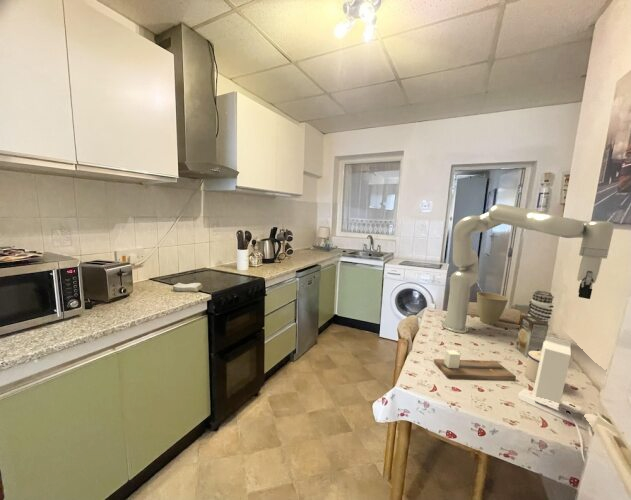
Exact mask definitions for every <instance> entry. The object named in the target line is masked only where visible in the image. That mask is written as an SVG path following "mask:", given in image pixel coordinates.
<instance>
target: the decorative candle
mask: <svg viewBox="0 0 631 500" xmlns="http://www.w3.org/2000/svg"><path fill="white" fill-rule="evenodd" d="M554 298H555V296H553V295H552V293H551V292H548V291H545V290H536V291H533V292H532V298H531V300H530V301H529V302H528V303H529V304H528V312H527V316H532V317H537V318H539V319H540V320H542V321H543V322H545V323H546V324H548V325H549V321H551V320H550V319H551V316H550V315H552V312H553V309H552V308H554V305H553V301H554V300H553V299H554Z"/></svg>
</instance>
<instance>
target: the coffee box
mask: <svg viewBox="0 0 631 500" xmlns="http://www.w3.org/2000/svg"><path fill="white" fill-rule="evenodd" d="M549 326H550V325H549V323H548V324H546V323H545V322H543V321H542V320H540V319H539V318H537V317H532V316H528V315H521V317H520V321H519V328H518V332H517V337H516V342H515V349H517V350H518V351H519V352H520V353H521V354H522V355H523V356H524V357H525V358H528V352H529V351H541V350H542V347H543V342H544V341H545V339H546V336H548V335H547V334H548V331H549Z"/></svg>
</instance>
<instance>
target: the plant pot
mask: <svg viewBox="0 0 631 500" xmlns="http://www.w3.org/2000/svg"><path fill="white" fill-rule="evenodd" d="M508 300H509V298H508V297H506V296H503V295H502V294H498V293H493V292H485V291H478V292H476V305H477V306H476V307H477V312H478V318H479V320H480V322H481V323H484V324H486V325H493V326H494V325H496V324H497V322H498V321H499V319H500V318H501V316H502V314H503V313H504V311H505V309H506V307H507V304H508Z"/></svg>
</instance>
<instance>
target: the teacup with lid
mask: <svg viewBox="0 0 631 500" xmlns="http://www.w3.org/2000/svg"><path fill="white" fill-rule="evenodd" d="M541 352H542V350H541V351H529V352H528V357H527V360H526V364H525V369H524V376H525V377H526V378H527V379H528V380H529V381H531V382H533V383H535V381H536V376H537V371H538V366H539V361H540V356H541Z"/></svg>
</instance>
